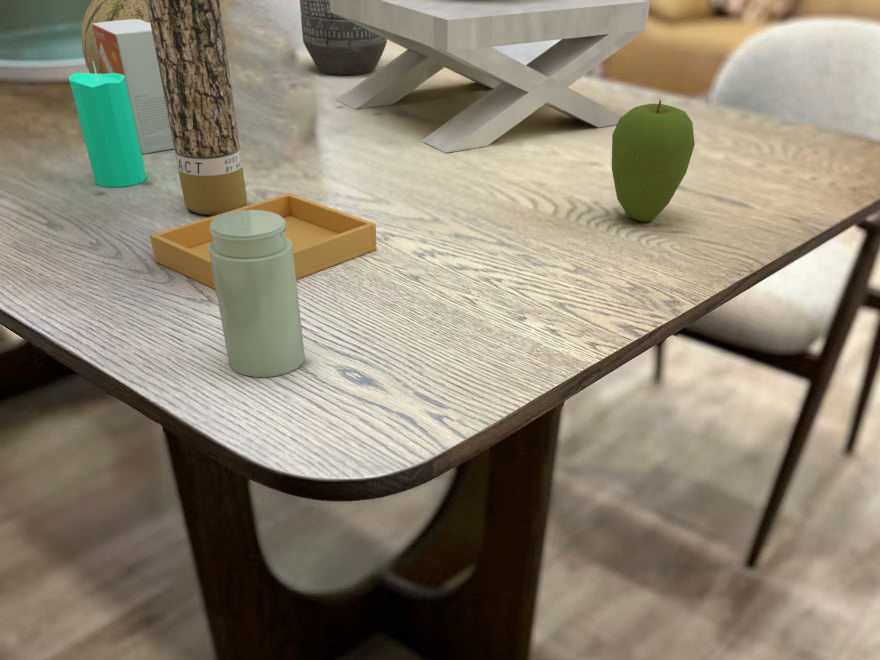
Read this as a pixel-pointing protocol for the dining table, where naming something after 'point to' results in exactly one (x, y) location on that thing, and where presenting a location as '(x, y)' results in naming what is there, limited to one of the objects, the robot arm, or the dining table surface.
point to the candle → (108, 128)
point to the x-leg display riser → (494, 56)
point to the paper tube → (199, 102)
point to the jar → (257, 292)
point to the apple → (650, 158)
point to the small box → (137, 77)
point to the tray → (308, 227)
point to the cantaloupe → (107, 5)
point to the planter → (338, 41)
